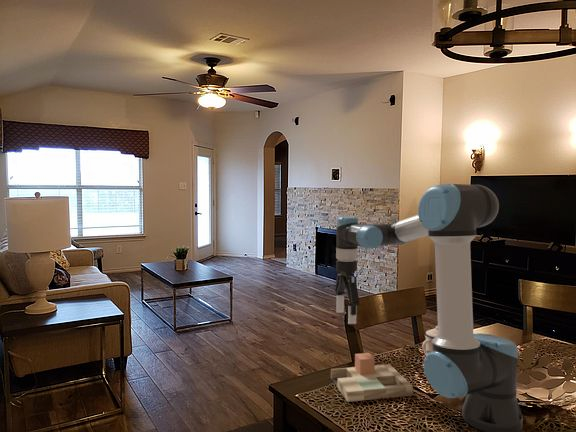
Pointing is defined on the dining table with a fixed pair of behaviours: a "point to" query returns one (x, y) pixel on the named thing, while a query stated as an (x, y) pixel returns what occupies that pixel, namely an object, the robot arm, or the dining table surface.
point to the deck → (371, 383)
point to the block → (365, 363)
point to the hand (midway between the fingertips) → (345, 317)
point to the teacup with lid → (429, 340)
